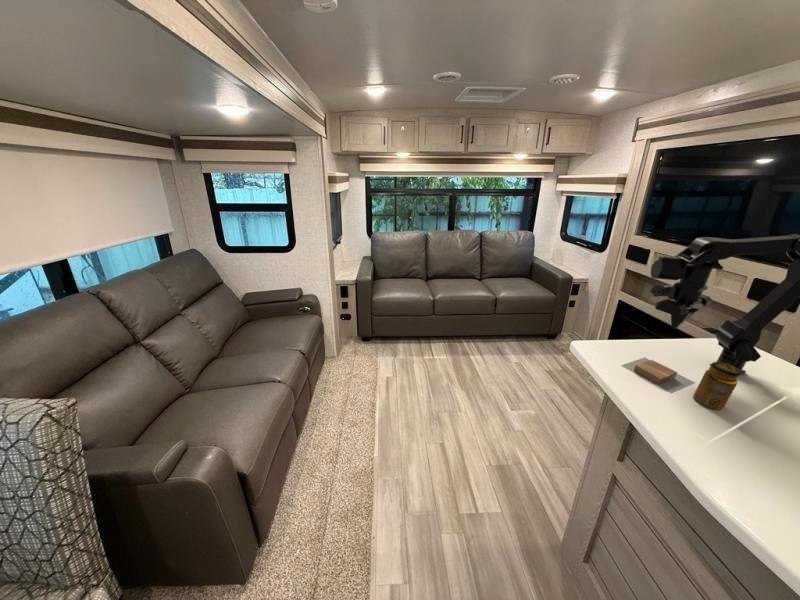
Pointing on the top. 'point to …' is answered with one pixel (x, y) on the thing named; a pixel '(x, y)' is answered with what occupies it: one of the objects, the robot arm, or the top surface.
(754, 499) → the top surface
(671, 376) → the wooden block
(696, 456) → the top surface
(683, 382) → the mat
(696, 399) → the condiment
